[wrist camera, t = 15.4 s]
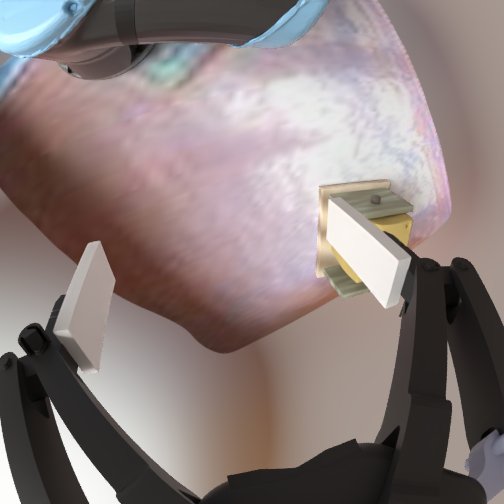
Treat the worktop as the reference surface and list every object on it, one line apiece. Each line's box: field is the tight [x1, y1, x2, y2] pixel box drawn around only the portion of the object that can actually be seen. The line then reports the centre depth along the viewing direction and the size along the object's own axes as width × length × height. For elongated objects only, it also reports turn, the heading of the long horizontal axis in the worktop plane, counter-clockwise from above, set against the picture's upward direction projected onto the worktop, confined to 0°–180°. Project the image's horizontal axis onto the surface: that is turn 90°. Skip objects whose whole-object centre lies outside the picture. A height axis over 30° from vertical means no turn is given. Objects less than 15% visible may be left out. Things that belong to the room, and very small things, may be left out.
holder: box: [315, 180, 413, 300], centre depth 47 cm, size 18×14×10 cm
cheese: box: [331, 213, 413, 283], centre depth 45 cm, size 10×11×10 cm
